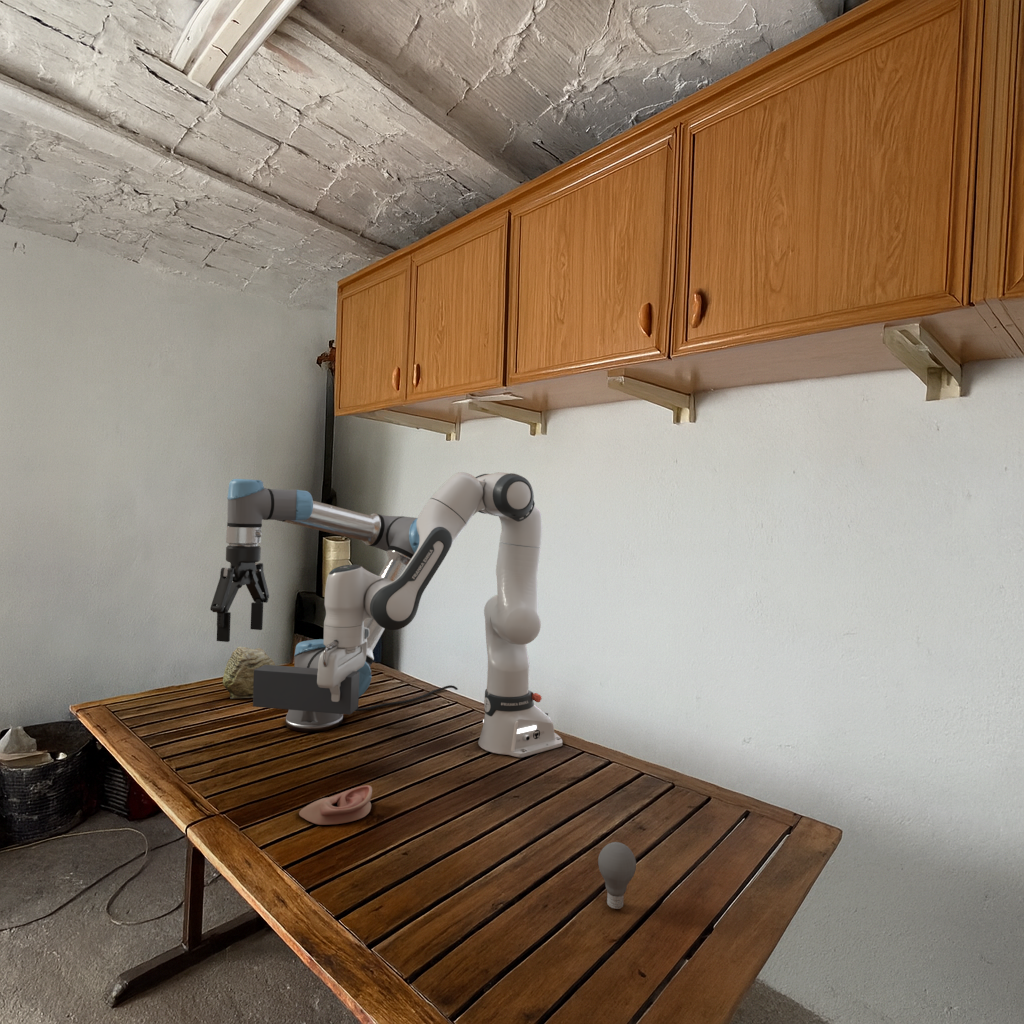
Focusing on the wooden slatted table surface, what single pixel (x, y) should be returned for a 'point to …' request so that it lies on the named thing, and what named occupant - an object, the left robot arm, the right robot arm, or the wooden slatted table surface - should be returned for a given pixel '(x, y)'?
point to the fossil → (243, 671)
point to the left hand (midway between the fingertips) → (240, 635)
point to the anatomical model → (339, 807)
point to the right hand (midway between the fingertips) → (341, 696)
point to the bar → (301, 690)
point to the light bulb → (616, 871)
